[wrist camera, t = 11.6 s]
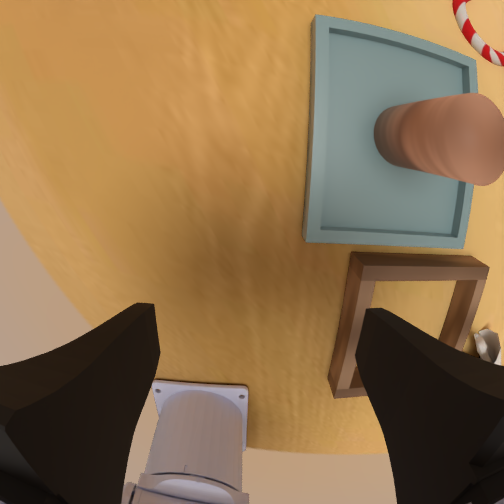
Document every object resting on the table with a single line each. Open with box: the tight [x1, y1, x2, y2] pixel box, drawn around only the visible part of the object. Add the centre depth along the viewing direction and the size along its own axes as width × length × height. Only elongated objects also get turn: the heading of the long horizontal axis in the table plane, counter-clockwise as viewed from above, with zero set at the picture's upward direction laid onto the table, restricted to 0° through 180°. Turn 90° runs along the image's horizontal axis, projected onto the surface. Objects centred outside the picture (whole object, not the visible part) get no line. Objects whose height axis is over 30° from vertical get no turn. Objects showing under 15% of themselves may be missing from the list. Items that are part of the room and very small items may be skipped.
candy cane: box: [453, 0, 504, 66], centre depth 13 cm, size 8×1×15 cm
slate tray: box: [302, 15, 478, 249], centre depth 17 cm, size 14×12×2 cm
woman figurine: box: [474, 329, 501, 365], centre depth 24 cm, size 12×4×18 cm
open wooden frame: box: [328, 252, 490, 399], centre depth 21 cm, size 11×11×2 cm
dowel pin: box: [374, 93, 504, 186], centre depth 13 cm, size 4×4×8 cm
